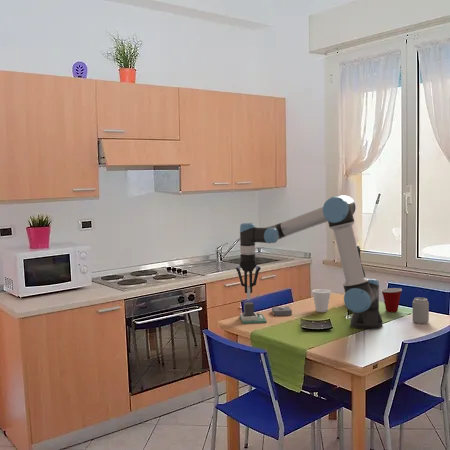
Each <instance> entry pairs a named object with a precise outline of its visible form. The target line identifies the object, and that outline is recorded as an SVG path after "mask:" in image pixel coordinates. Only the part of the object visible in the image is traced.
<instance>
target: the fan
mask: <svg viewBox="0 0 450 450" xmlns="http://www.w3.org/2000/svg"><path fill="white" fill-rule="evenodd" d="M271 311H272V314H273V315H274V316H275V317H278V316H280V317H281V316H282V315H283V316H293V310H292V309H291V308H290V306H287V305H285V306H273V307H271Z"/></svg>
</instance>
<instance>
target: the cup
mask: <svg viewBox="0 0 450 450" xmlns="http://www.w3.org/2000/svg"><path fill="white" fill-rule="evenodd" d="M331 291H332V290H329V289H324V288H318V289H312V291H311V292H312V295H313V300H314V305H315V306H314V307H315V311H316V312H317V313H326V312H327V311H328V309H329V304H330V297H331Z"/></svg>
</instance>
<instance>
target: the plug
mask: <svg viewBox="0 0 450 450" xmlns="http://www.w3.org/2000/svg"><path fill="white" fill-rule="evenodd" d="M254 309H255V308H254V303H253V301H246V302H243V313H244V317H245V316H254V312H255V311H254Z"/></svg>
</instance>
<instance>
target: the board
mask: <svg viewBox="0 0 450 450" xmlns="http://www.w3.org/2000/svg"><path fill="white" fill-rule="evenodd" d="M239 318H240V321H241V323H242V325H248V324H249V325H250V324H267V320H266V318H265V316H264V314H263V313H259V312H258V313H257V312H255V311H254V316H245V317H244V312H241V313H240V314H239Z"/></svg>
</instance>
